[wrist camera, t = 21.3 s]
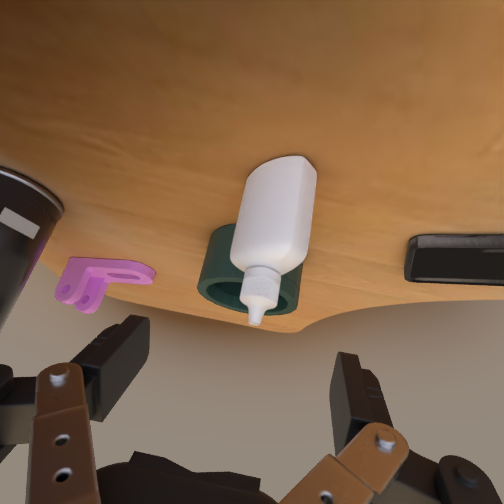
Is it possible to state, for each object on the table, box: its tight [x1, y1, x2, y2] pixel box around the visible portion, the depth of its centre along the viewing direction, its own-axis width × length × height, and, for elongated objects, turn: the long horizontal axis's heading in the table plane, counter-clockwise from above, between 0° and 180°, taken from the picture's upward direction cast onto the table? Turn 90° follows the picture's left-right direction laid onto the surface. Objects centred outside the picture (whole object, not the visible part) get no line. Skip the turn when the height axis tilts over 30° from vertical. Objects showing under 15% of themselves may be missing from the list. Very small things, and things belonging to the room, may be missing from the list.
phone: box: [404, 235, 504, 286], centre depth 31 cm, size 8×1×15 cm
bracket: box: [55, 257, 156, 314], centre depth 50 cm, size 13×6×7 cm, turn 104°
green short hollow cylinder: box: [197, 224, 303, 316], centre depth 37 cm, size 11×11×6 cm
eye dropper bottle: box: [230, 156, 317, 326], centre depth 24 cm, size 4×6×12 cm
